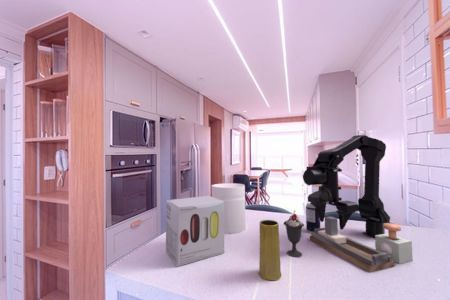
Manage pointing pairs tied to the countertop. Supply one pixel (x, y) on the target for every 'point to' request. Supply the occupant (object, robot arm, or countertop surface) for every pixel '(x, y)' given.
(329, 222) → the carriage
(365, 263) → the rail
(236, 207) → the canister
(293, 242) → the sundae
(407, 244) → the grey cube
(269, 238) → the vase
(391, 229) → the button
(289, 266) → the countertop surface
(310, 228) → the beverage can
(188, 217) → the supplement box
